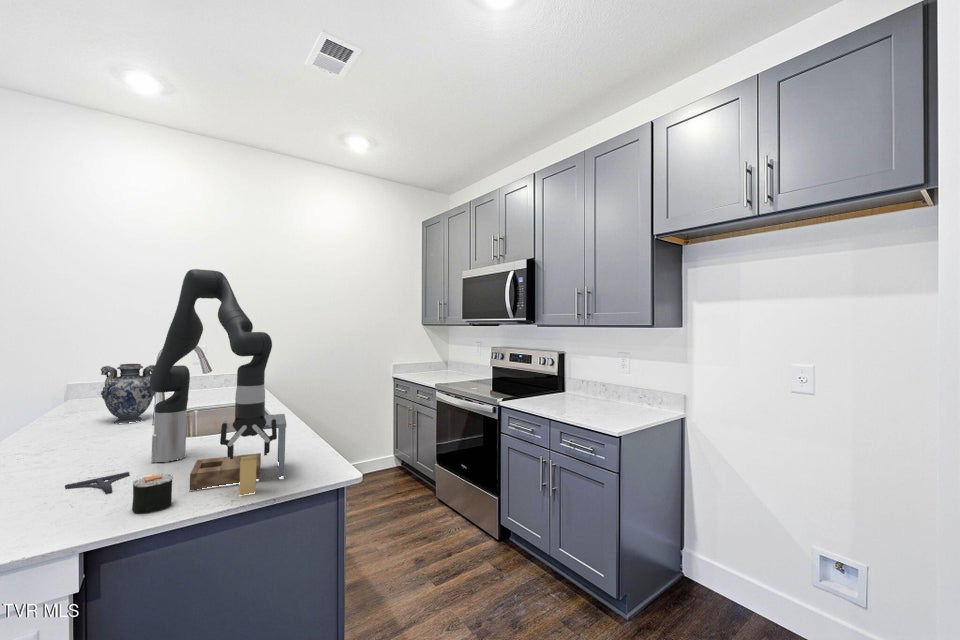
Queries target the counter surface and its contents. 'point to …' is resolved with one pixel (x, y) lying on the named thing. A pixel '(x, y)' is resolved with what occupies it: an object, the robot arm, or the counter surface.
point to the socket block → (219, 471)
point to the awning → (279, 438)
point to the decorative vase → (127, 391)
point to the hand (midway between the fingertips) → (248, 456)
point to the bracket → (99, 482)
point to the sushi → (152, 493)
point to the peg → (247, 475)
